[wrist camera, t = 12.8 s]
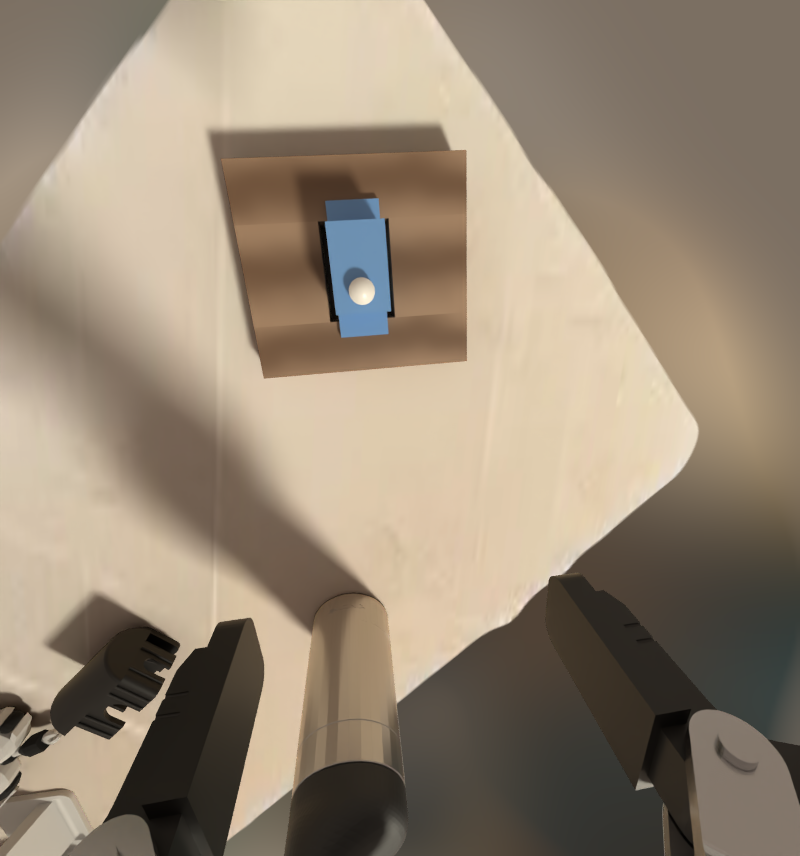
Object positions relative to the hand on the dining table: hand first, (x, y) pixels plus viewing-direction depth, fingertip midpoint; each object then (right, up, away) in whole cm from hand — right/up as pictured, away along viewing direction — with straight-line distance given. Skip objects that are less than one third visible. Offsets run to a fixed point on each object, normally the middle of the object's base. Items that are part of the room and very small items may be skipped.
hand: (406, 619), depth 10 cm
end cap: (-32, -22, +34) cm, 52 cm away
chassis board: (-4, +19, +23) cm, 30 cm away
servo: (-4, +19, +23) cm, 30 cm away
